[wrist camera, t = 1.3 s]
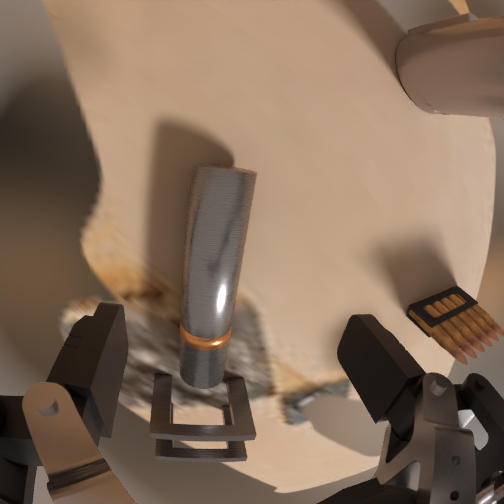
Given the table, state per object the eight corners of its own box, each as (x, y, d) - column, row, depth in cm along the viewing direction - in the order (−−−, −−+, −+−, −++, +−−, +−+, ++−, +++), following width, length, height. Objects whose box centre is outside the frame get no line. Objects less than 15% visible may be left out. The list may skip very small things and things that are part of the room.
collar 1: (155, 373, 28) (149, 432, 21) (243, 377, 31) (256, 434, 23) (155, 380, 29) (150, 437, 21) (242, 383, 31) (254, 440, 24)
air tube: (194, 162, 21) (191, 167, 17) (251, 169, 22) (263, 176, 18) (179, 355, 28) (179, 387, 24) (222, 357, 29) (226, 389, 25)
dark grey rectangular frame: (158, 402, 31) (155, 455, 23) (237, 405, 33) (247, 457, 25) (158, 407, 31) (156, 459, 23) (236, 410, 33) (245, 460, 26)
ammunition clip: (457, 285, 33) (510, 327, 22) (454, 295, 33) (505, 338, 22) (408, 305, 31) (464, 361, 21) (406, 316, 32) (459, 373, 21)
